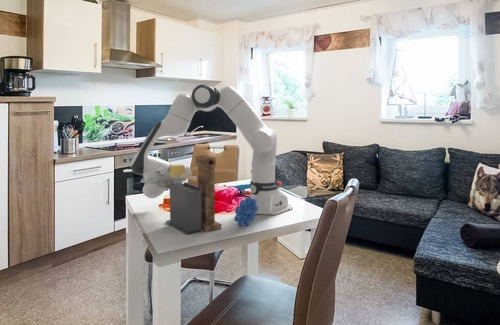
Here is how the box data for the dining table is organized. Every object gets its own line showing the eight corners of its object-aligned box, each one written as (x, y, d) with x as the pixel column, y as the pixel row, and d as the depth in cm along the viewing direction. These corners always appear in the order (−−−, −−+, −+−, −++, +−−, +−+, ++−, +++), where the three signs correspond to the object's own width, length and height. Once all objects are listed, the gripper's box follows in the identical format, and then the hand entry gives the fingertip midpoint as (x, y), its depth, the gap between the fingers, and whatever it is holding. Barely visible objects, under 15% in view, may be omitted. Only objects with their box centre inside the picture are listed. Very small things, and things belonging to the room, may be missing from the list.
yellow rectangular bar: (179, 174, 152) (178, 164, 151) (200, 179, 139) (200, 168, 138) (169, 176, 149) (168, 165, 149) (190, 181, 136) (189, 169, 135)
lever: (230, 199, 213) (243, 197, 197) (228, 187, 214) (242, 184, 198) (240, 197, 216) (255, 196, 201) (239, 186, 217) (253, 183, 201)
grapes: (250, 220, 158) (251, 193, 156) (260, 224, 152) (261, 196, 151) (228, 225, 151) (228, 197, 149) (238, 229, 145) (238, 200, 143)
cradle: (181, 220, 157) (180, 180, 154) (202, 230, 143) (202, 187, 141) (165, 223, 152) (165, 182, 150) (186, 234, 139) (186, 190, 136)
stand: (205, 221, 156) (204, 154, 151) (221, 228, 146) (221, 157, 142) (190, 224, 151) (190, 155, 147) (206, 232, 142) (206, 159, 138)
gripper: (137, 175, 154) (149, 163, 144) (181, 171, 167) (194, 159, 156) (141, 189, 152) (152, 178, 142) (184, 184, 165) (198, 173, 155)
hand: (175, 168), depth 149 cm, fingers closed on yellow rectangular bar, 4 cm apart
